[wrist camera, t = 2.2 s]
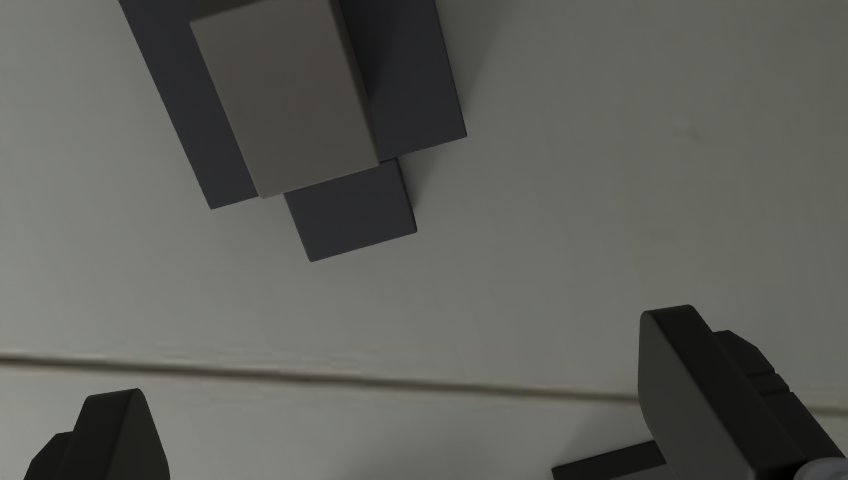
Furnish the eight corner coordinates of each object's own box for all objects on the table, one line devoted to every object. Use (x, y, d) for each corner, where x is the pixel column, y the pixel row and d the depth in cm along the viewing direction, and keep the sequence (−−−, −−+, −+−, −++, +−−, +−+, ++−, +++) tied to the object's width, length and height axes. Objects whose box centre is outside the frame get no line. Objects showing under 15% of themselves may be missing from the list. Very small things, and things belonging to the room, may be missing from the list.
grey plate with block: (392, -155, 24) (415, -141, 18) (479, 195, 30) (517, 288, 24) (102, -70, 24) (36, -31, 18) (245, 261, 30) (228, 369, 24)
